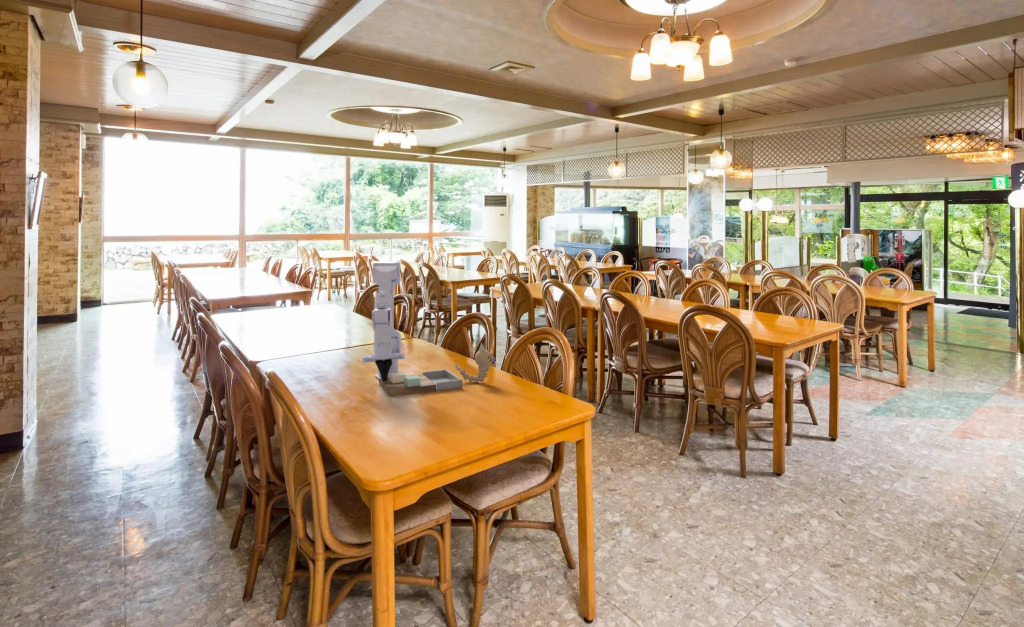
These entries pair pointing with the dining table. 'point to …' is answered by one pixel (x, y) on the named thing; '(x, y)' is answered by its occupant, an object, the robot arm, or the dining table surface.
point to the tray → (444, 379)
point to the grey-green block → (412, 380)
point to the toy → (483, 361)
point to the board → (402, 389)
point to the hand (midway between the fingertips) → (384, 380)
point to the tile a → (396, 377)
